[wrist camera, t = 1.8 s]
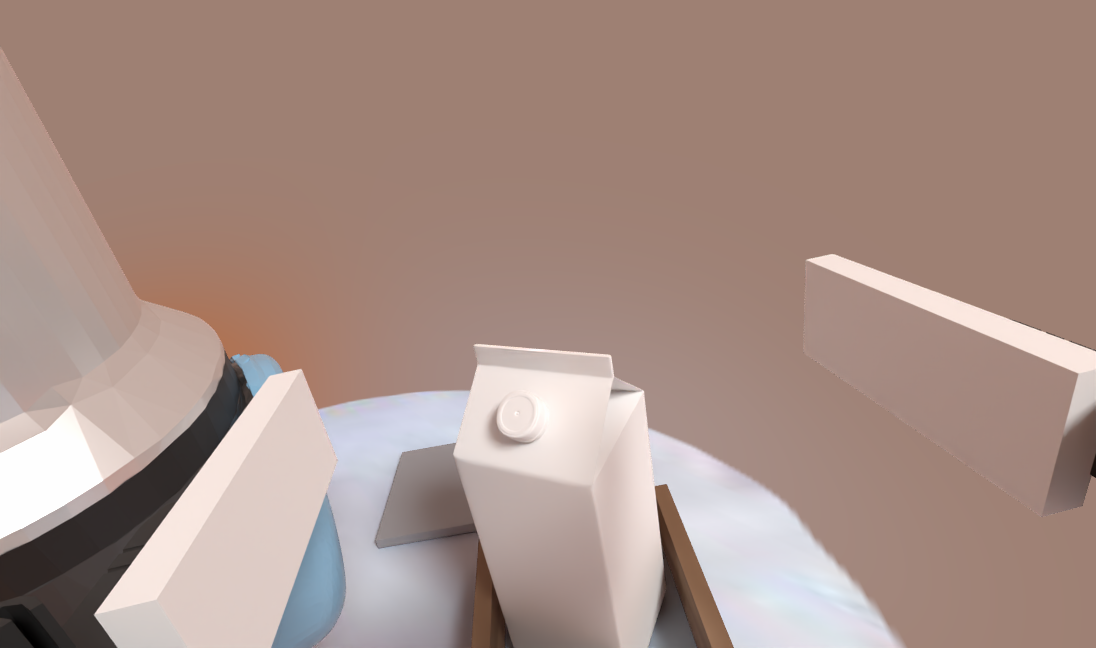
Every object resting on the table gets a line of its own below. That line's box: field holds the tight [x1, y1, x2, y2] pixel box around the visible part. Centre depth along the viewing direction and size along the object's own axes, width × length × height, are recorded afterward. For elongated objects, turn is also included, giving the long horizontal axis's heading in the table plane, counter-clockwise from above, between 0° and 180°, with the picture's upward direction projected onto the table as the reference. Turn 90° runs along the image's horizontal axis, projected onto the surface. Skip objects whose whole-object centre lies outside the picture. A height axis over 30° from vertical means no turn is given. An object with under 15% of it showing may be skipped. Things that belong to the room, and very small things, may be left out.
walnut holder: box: [471, 484, 734, 648], centre depth 31 cm, size 13×13×4 cm
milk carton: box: [453, 344, 666, 648], centre depth 28 cm, size 7×7×19 cm
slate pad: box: [375, 443, 477, 548], centre depth 45 cm, size 11×11×1 cm
